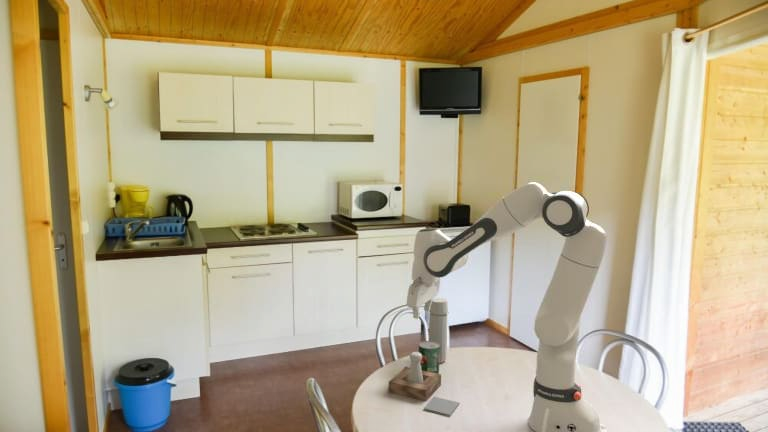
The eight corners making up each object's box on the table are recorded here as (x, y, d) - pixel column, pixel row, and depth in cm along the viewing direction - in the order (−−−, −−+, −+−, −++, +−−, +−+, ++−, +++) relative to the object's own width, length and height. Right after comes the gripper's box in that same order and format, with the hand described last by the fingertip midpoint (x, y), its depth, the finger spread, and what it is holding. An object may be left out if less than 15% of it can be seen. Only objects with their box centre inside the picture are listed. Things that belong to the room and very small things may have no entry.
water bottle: (441, 365, 197) (442, 303, 194) (424, 360, 202) (425, 300, 199) (452, 358, 205) (454, 298, 202) (436, 354, 209) (437, 295, 206)
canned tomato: (413, 371, 192) (414, 344, 190) (428, 366, 197) (428, 339, 196) (429, 378, 186) (429, 350, 185) (443, 372, 191) (444, 344, 190)
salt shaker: (422, 393, 174) (422, 357, 173) (405, 391, 175) (406, 355, 174) (424, 385, 180) (425, 350, 178) (408, 384, 181) (409, 349, 180)
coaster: (459, 404, 167) (459, 402, 167) (450, 416, 159) (450, 414, 159) (434, 398, 171) (434, 396, 171) (423, 409, 163) (423, 408, 163)
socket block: (440, 385, 181) (441, 374, 180) (426, 401, 168) (426, 390, 168) (405, 377, 187) (405, 366, 187) (388, 392, 175) (388, 381, 174)
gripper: (421, 283, 160) (418, 324, 162) (443, 270, 178) (440, 308, 180) (403, 279, 163) (400, 320, 165) (427, 267, 181) (424, 304, 183)
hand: (421, 314), depth 173 cm, fingers open, 8 cm apart
